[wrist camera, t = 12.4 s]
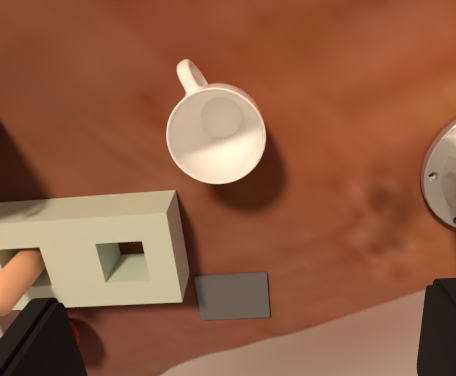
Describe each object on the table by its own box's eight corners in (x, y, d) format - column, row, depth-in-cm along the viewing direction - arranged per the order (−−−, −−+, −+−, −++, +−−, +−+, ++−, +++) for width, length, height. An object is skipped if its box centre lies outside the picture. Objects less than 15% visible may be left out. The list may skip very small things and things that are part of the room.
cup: (205, 169, 39) (196, 199, 33) (151, 76, 36) (131, 89, 30) (277, 135, 37) (282, 160, 31) (228, 34, 34) (223, 39, 28)
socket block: (175, 189, 40) (166, 212, 36) (189, 272, 44) (182, 302, 39) (-11, 203, 42) (-43, 226, 37) (18, 281, 46) (-8, 310, 41)
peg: (57, 228, 43) (5, 287, 34) (65, 252, 44) (16, 315, 35) (31, 230, 43) (-28, 289, 34) (39, 254, 44) (-16, 317, 35)
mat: (266, 271, 44) (266, 274, 43) (269, 314, 46) (270, 317, 46) (194, 275, 44) (194, 277, 44) (201, 317, 47) (201, 320, 46)
